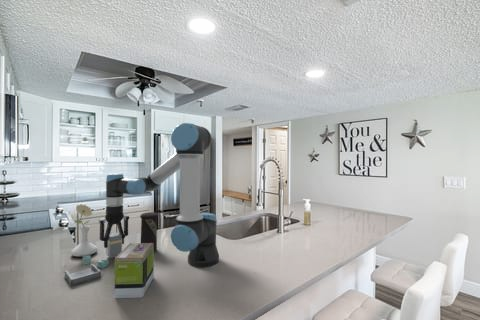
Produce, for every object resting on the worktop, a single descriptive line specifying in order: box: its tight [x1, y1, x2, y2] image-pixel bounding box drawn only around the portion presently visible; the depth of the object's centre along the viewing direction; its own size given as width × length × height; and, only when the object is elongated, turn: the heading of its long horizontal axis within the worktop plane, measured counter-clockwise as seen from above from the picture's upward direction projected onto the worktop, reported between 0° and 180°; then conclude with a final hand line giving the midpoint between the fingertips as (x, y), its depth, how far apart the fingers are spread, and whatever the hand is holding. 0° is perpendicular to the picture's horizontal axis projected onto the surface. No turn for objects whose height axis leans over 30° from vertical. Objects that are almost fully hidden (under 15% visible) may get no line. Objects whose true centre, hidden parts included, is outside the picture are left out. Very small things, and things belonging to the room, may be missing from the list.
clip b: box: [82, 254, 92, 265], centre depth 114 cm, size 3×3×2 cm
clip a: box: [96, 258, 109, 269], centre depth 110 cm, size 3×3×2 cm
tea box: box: [114, 242, 155, 299], centre depth 93 cm, size 15×10×15 cm, turn 5°
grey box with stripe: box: [106, 232, 122, 259], centre depth 120 cm, size 5×5×10 cm
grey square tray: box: [64, 263, 102, 287], centre depth 100 cm, size 11×10×2 cm
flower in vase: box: [70, 203, 98, 257], centre depth 123 cm, size 13×11×25 cm
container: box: [139, 211, 159, 253], centre depth 130 cm, size 9×9×20 cm
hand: (114, 252), depth 120 cm, fingers closed on grey box with stripe, 5 cm apart
